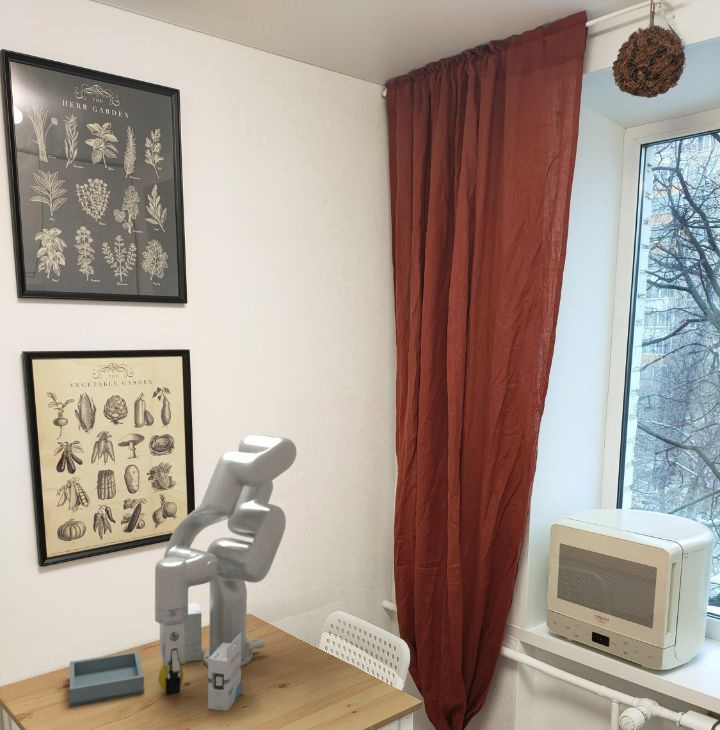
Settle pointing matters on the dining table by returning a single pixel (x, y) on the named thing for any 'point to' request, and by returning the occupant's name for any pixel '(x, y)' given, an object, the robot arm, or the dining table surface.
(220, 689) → the ink box
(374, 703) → the dining table surface
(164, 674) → the lemon
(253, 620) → the dining table surface
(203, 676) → the dining table surface
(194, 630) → the supplement box
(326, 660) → the dining table surface
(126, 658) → the walled box
